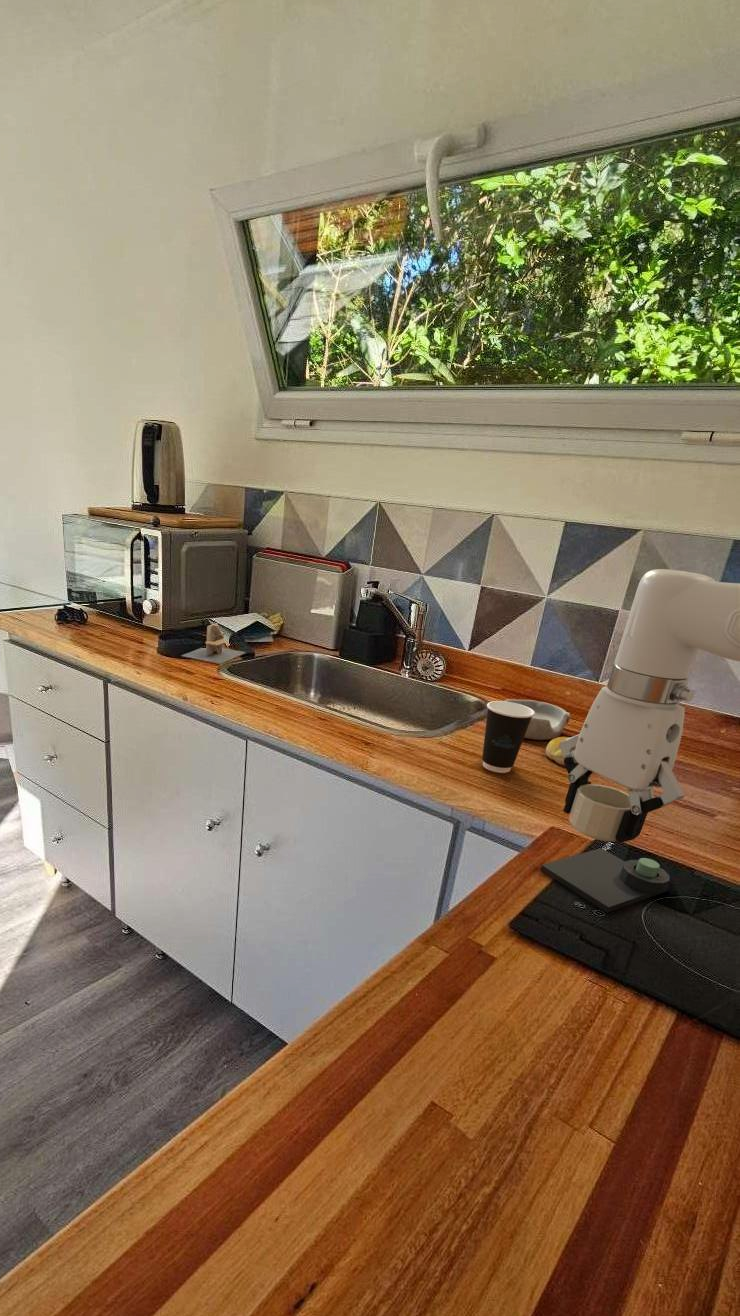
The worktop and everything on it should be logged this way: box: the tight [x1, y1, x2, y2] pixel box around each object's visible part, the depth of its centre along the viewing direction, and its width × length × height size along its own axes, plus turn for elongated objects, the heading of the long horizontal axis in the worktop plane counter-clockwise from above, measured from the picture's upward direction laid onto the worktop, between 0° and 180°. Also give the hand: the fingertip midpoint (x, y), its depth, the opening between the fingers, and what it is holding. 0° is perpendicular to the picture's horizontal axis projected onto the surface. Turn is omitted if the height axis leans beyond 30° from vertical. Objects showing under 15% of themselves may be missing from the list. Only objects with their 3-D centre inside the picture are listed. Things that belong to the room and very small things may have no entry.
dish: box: [504, 699, 571, 741], centre depth 137 cm, size 14×14×5 cm
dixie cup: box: [481, 700, 535, 774], centre depth 115 cm, size 8×8×11 cm
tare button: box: [636, 857, 661, 878], centre depth 83 cm, size 2×2×2 cm
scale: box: [539, 847, 671, 914], centre depth 84 cm, size 12×11×2 cm
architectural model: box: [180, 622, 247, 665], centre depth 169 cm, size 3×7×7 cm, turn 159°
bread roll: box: [545, 736, 571, 767], centre depth 124 cm, size 8×9×4 cm
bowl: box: [568, 783, 631, 842], centre depth 81 cm, size 7×7×5 cm
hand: (598, 824), depth 82 cm, fingers closed on bowl, 6 cm apart
